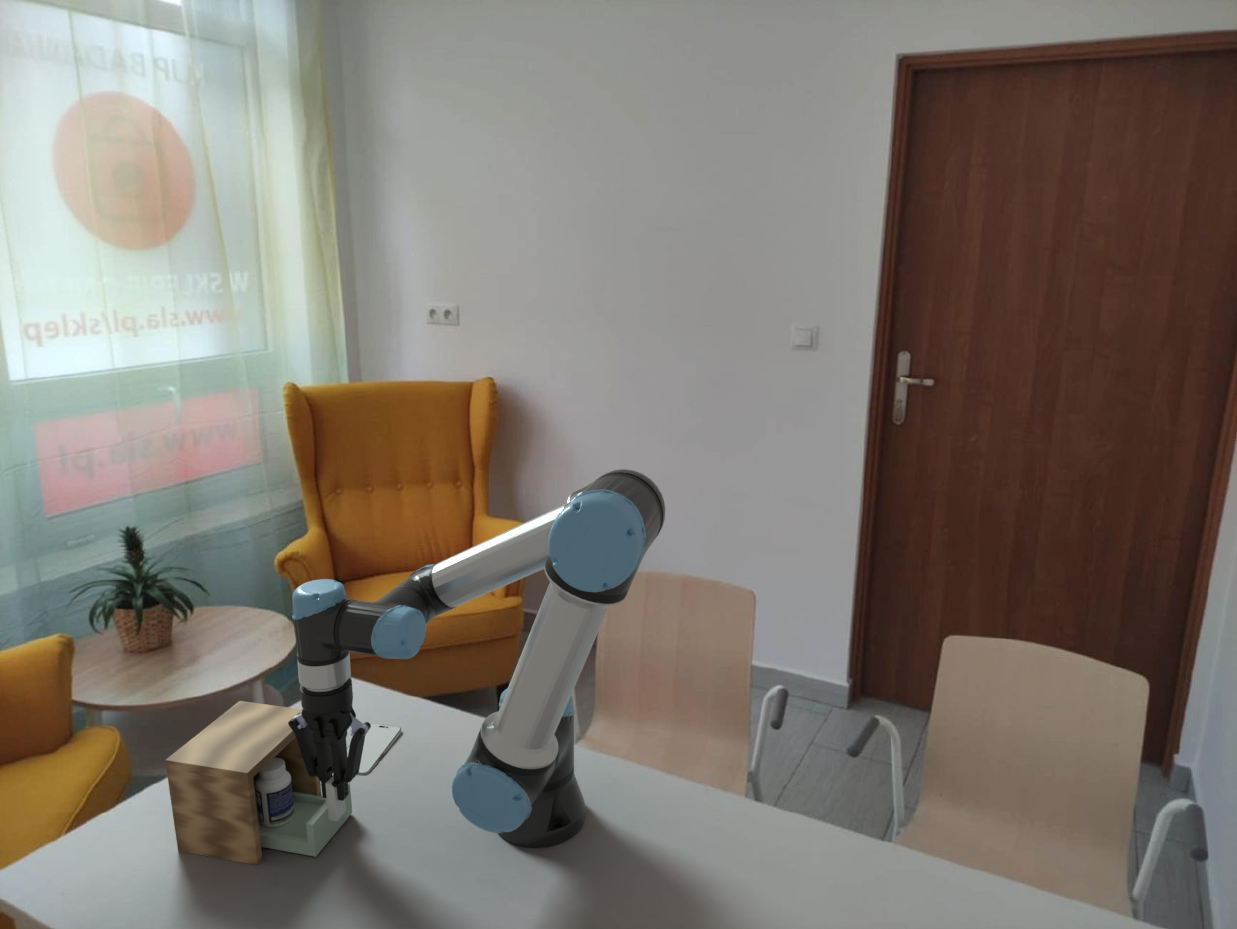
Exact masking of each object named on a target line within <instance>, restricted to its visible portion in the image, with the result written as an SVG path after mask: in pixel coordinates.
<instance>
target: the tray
mask: <svg viewBox="0 0 1237 929" xmlns="http://www.w3.org/2000/svg"><path fill="white" fill-rule="evenodd" d="M254 789H255V798H256V807H257V816H258V825H259V834H260V843H261V848H266V849H270V850H277V851H283V852H288V853H292V854H293V853H295V854H300V855H306V856H309V857H310V856H311V857H317V856H318V855H319V854H320V853H321V851H322V850H324V848H325V846H326V845H327V844H328V843H329V841H331V839H332V838H333V837H334V835H335V834H337V832H338V831H339V830H340V828H341V827H342V826H343V825H344V823H345V822H346V821H347V820H348V819H349V817H350V816H351V815H352V814H353V806H352V795H351V794H352V792H351V782H348V790H349V794H348V796H347V797H346V798H345V805H346V811H345V812H344V814H343V815H342V816H341V817H340V818H339V820H338V821H333V820H329V819H328V808H327V798H323V796H322V795H321V796H316V795H310V794H304V793H298V792H293V801H294V816H293V818H292V819H291V820H290V821H289V822H288V823H286V824H284V825H281V826H278V827H266V826H264V825H262V824H261V823H260V820H259V814H258V805H257V797H256V788H255V786H254Z"/></svg>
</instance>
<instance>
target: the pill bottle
mask: <svg viewBox="0 0 1237 929" xmlns="http://www.w3.org/2000/svg"><path fill="white" fill-rule="evenodd" d="M285 769H286V767H285V762H284V760H283V759H281V758H273V759H272V760H271V761H270V762H269V763H268V764H267V765H266V766H265V767H263V768H262V769H261V770H260V771H259V777H258V778H257V779H256V782H255V788H256V797H257V805H258V814H259V820H260V823H261V824H262V825H264V826H266V827H278V826H281V825H284V824H286V823H288V822H289V821H290V820H291V819H292V818H293V816H294V801H293V792H292V783H291V775H290V773H289V772H288V771H286V770H285Z"/></svg>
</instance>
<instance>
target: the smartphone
mask: <svg viewBox="0 0 1237 929" xmlns="http://www.w3.org/2000/svg"><path fill="white" fill-rule="evenodd" d="M370 725H371V727H370V729H369V731H368V732H367V734H366V735H365V741H364V746H363V752H362V757H361V763H360V769H359V773H358V774H357V775H360V776H366V775H369V774H370V773H371V771H372V770H373V769H374V768H375V766H376V765H377V764H378V763H379V761H380V760H381V759H382V757H383V756H384V755H385V754H386V753H387V752H388V750H389V749H390V748H391V746H393V744H394V743H395V742H396V740H397V739H398V737H399V736H400V735H401V734H402V727H400V726H396V725H388V724H381V723H380V724H379V723H370ZM349 747H350V744H349V746H347V756H348V753H349Z"/></svg>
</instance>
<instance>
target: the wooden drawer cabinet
mask: <svg viewBox="0 0 1237 929" xmlns="http://www.w3.org/2000/svg"><path fill="white" fill-rule="evenodd" d="M302 710H303V708H302V709H301V708H294V707H288V706H280V705H271V704H265V703H259V702H250V701H245V700H239V701H238V702H236V703H235V704H234V705H232V706H231V707H230V708H229V709H227V710H226V711H225V712H224V713H222V714H221V715H220V716H218V717H217V718H216V719H215V720H214V721H212V722H211V723H210V724H208V725H207V726H206V727H205V728H204V729H202V730H201V731H200V732H198V733H197V734H196V735H195V736H194V737H192V738H191V739H190V740H188V741H187V742H186V743H185V744H183V745H182V746H181V747H180V748H178V749H176V750H175V752H173V753H172V754H171V755H169V756H168V757H167V758H166V759H165V760H164V761H165V767H166V774H167V775H166V776H167V782H168V789H169V795H170V802H171V803H170V804H171V811H172V817H173V818H172V819H173V825H174V832H175V839H176V846H177V847H176V848H177V851H178V852H183V853H190V854H193V855H194V854H195V855H199V856H204V857H210V858H214V859H215V858H217V859H223V860H226V861H233V862H238V863H243V864H247V865H248V864H249V865H254V866H259V865H260V864H261V862H263V852H262V847H261V843H260V834H259V825H258V816H257V807H256V798H255V789H254V786H255V782H256V779H257V778H258V777H259V771H260V770H261V769H262V768H263V767H265V766H266V765H267V764H268V763H269V762H270V761H271V760H272V759H273V758H281V759H283V760H284V762H285V767H286V769H285V770H286V771H288V772H289V773H290V775H291V783H292V792H298V793H304V794H310V795H316V796H322V788H321V781H320V780H319V778H318V777H316V776H314V777H311V776H309V774H308V772H307V769H306V766H305V762H304V759H303V756H302V753H301V750H300V747H299V744H298V741H297V738H296V735H295V733H294V732H293V730H292V729H291V728H290V726H289V724H288V722H289V721H290V720H291V719H292V718H293V717H294V716H296V715H297V714H298V713H302ZM312 732H313V731H312Z"/></svg>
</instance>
